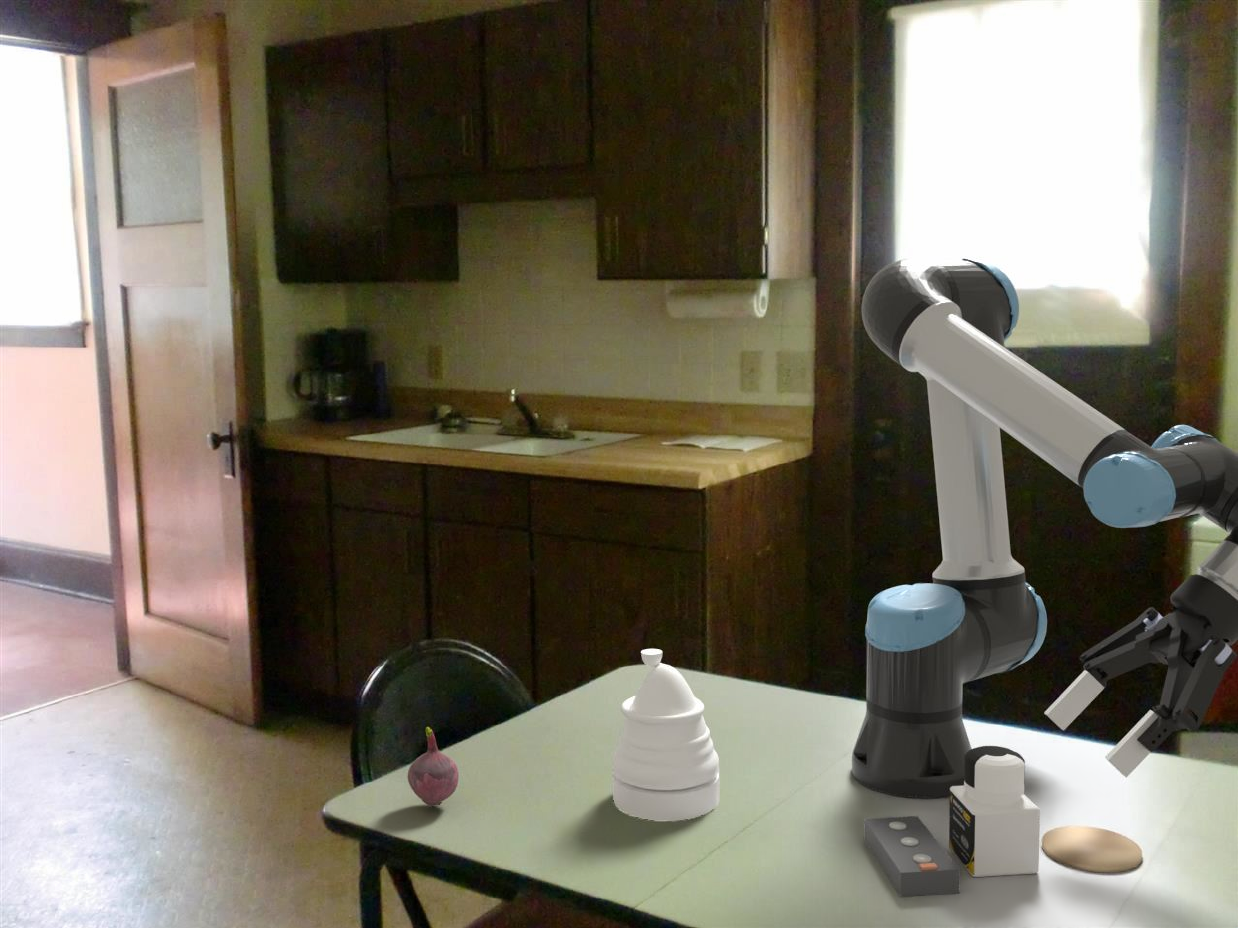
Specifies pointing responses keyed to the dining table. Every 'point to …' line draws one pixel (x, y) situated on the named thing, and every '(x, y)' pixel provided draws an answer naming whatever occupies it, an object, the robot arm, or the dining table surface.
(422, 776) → the vegetable
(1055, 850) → the coaster
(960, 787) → the medicine bottle
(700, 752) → the honey pot
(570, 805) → the dining table surface
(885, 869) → the power strip
